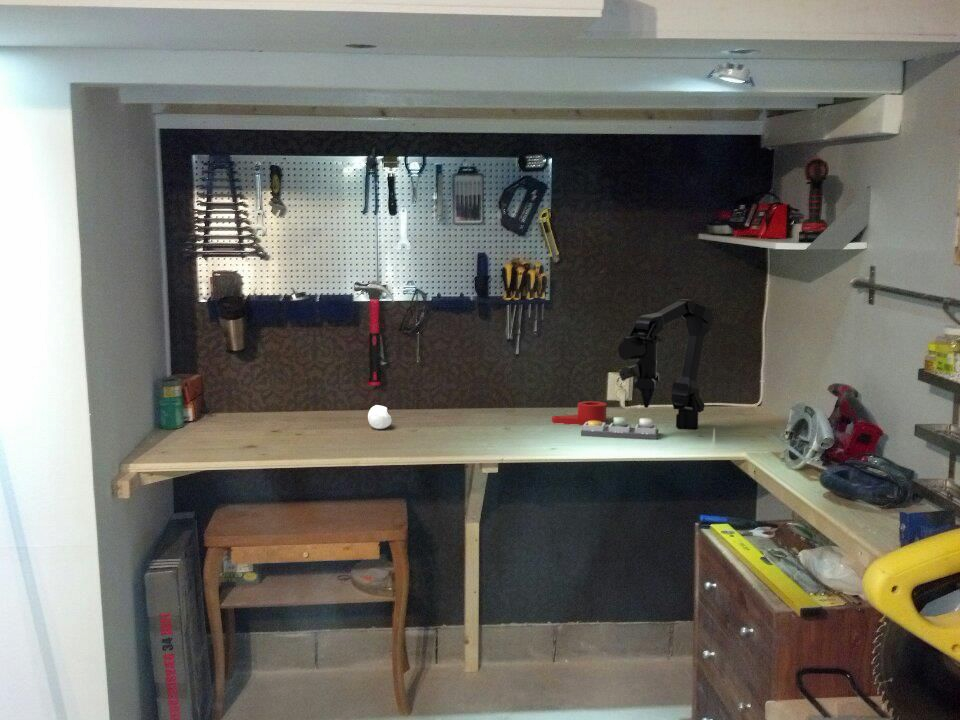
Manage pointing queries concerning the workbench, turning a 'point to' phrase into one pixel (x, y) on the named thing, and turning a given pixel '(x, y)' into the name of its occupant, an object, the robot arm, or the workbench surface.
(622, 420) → the button sage
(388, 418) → the white rounded piece
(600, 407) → the lever
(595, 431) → the control board
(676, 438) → the workbench surface
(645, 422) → the button white
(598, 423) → the button amber
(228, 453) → the workbench surface
